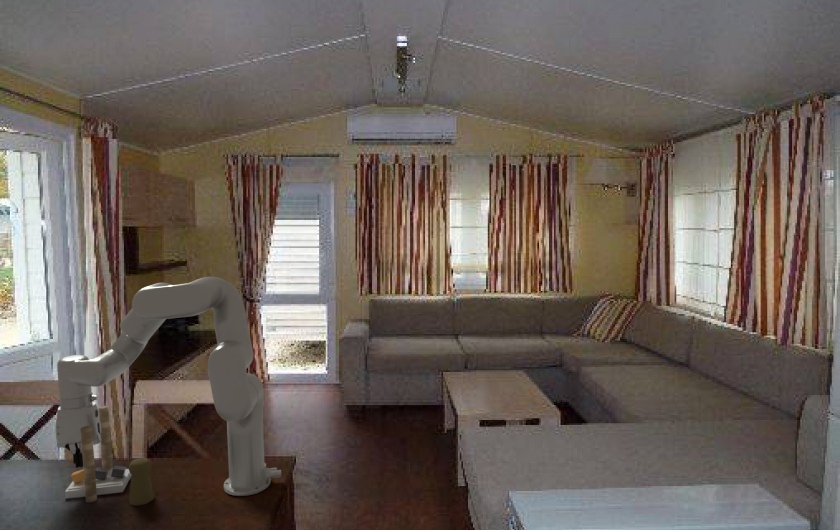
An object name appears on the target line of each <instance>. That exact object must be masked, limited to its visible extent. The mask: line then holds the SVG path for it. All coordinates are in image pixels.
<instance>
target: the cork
mask: <svg viewBox="0 0 840 530" xmlns="http://www.w3.org/2000/svg"><path fill="white" fill-rule="evenodd" d="M128 469H129V471H130V473H131V478H130V487H129V497H128V498H129V499H128V500H129V501H128V502H129V505H131V506H142V505H146V504H148V503H150V501H151V502H152V501H153V500H154V499H155V494H154V489H153V485H152V480H151V479H152V478H151V476H150V469H151V461H150V460H149V459H148V458H146V457H139V458H136V459H133V460H132V461H131V462H130V463H129V465H128Z"/></svg>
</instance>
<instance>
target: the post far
mask: <svg viewBox="0 0 840 530" xmlns="http://www.w3.org/2000/svg"><path fill="white" fill-rule="evenodd" d="M97 408H98V412H99V417H100V423H101V434H100V437H101V442H100V453H101V466H102V467H101V468H107V469H109V470H108V471H112V470H113V468H114V466H113V454H112V453H113V452H112V439H111V424H110V409H109V406H107V405H105V406H104V405H103V406H100V407H97Z"/></svg>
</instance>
